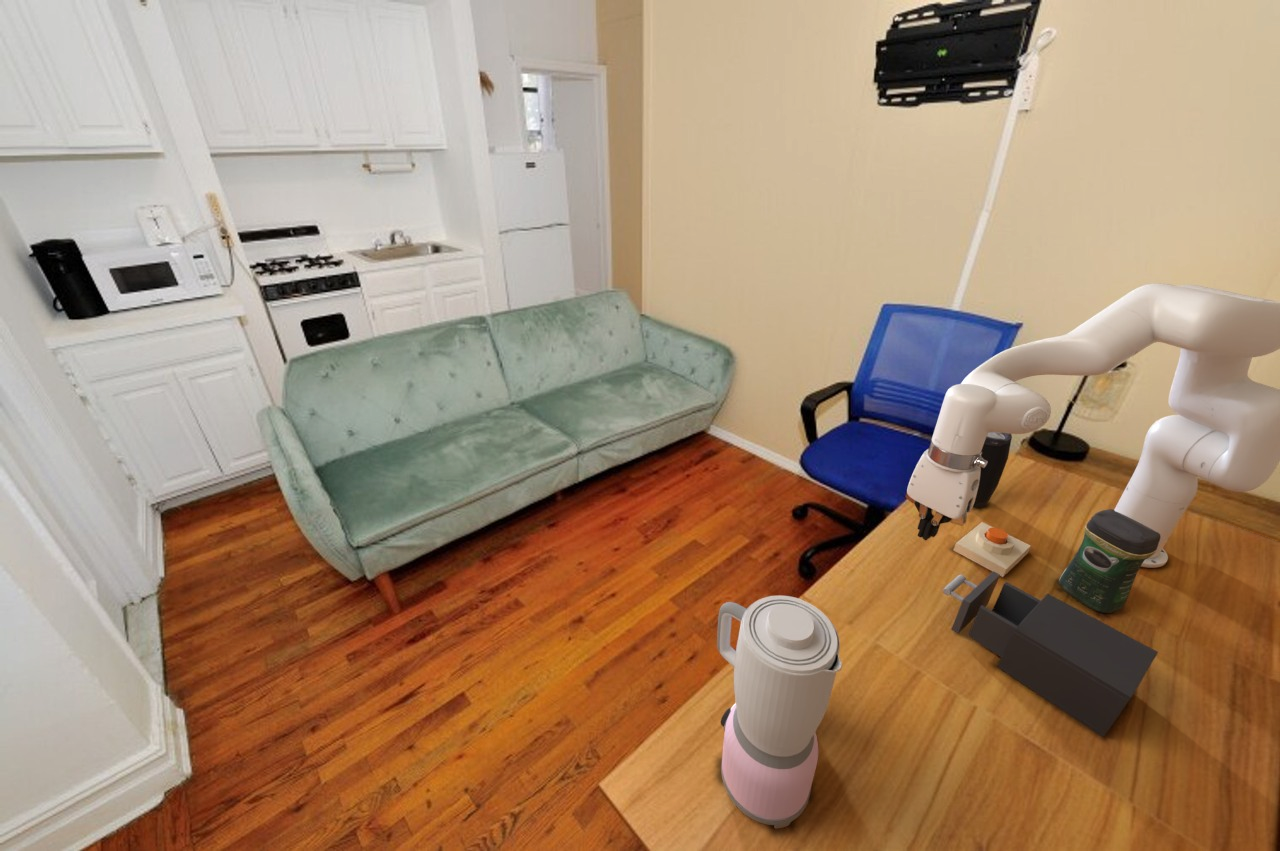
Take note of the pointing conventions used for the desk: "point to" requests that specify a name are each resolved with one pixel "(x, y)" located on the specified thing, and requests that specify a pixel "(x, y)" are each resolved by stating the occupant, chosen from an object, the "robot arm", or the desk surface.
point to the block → (991, 550)
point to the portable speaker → (992, 465)
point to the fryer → (1076, 662)
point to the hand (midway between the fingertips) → (925, 535)
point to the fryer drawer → (991, 611)
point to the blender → (775, 703)
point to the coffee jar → (1108, 561)
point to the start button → (996, 535)
